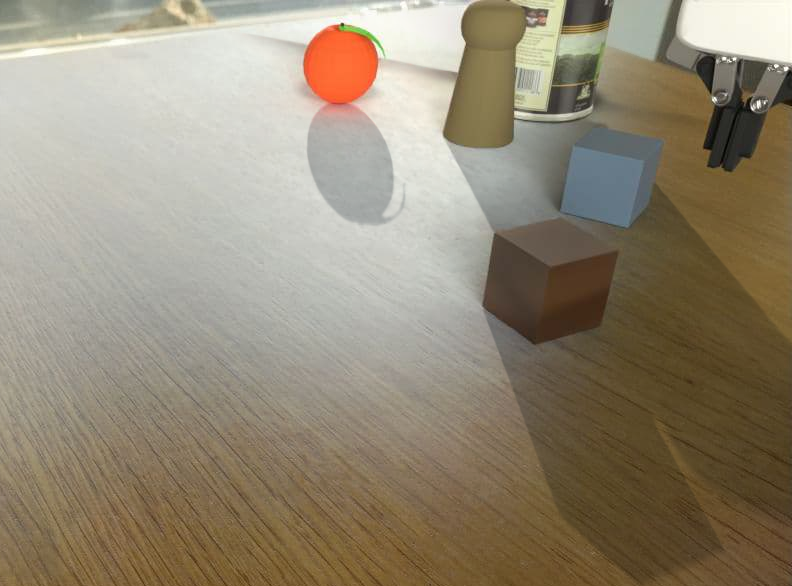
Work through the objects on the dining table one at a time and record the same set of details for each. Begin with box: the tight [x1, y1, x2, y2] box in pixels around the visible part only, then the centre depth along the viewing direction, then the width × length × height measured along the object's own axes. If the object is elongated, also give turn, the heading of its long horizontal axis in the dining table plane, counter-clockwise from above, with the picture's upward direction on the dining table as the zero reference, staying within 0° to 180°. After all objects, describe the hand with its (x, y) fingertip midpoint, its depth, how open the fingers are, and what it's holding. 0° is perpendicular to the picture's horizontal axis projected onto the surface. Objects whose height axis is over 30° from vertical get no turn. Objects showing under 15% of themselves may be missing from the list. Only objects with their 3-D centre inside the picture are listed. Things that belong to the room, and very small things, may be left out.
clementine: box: [302, 22, 387, 105], centre depth 90 cm, size 8×7×7 cm
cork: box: [442, 0, 527, 149], centre depth 82 cm, size 6×6×11 cm
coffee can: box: [506, 0, 615, 123], centre depth 88 cm, size 10×10×14 cm
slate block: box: [559, 126, 665, 229], centre depth 71 cm, size 5×5×5 cm
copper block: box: [482, 216, 620, 345], centre depth 58 cm, size 5×5×5 cm
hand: (724, 163), depth 66 cm, fingers closed
